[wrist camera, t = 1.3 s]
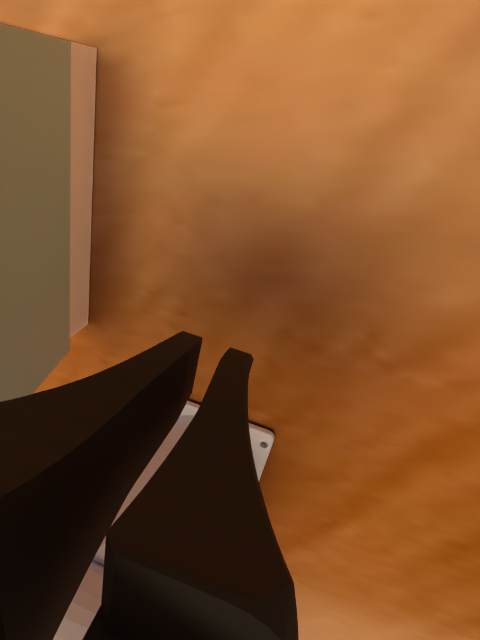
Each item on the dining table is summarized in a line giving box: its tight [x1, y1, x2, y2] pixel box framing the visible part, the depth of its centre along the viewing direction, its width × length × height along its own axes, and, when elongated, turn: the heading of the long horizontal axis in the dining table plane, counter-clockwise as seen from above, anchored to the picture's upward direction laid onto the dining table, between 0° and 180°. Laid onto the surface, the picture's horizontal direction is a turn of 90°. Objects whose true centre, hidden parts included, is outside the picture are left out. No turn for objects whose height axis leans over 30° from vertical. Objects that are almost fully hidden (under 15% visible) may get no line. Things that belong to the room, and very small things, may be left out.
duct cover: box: [0, 23, 71, 402], centre depth 16 cm, size 15×7×1 cm
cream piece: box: [70, 42, 97, 337], centre depth 21 cm, size 15×8×3 cm, turn 167°
